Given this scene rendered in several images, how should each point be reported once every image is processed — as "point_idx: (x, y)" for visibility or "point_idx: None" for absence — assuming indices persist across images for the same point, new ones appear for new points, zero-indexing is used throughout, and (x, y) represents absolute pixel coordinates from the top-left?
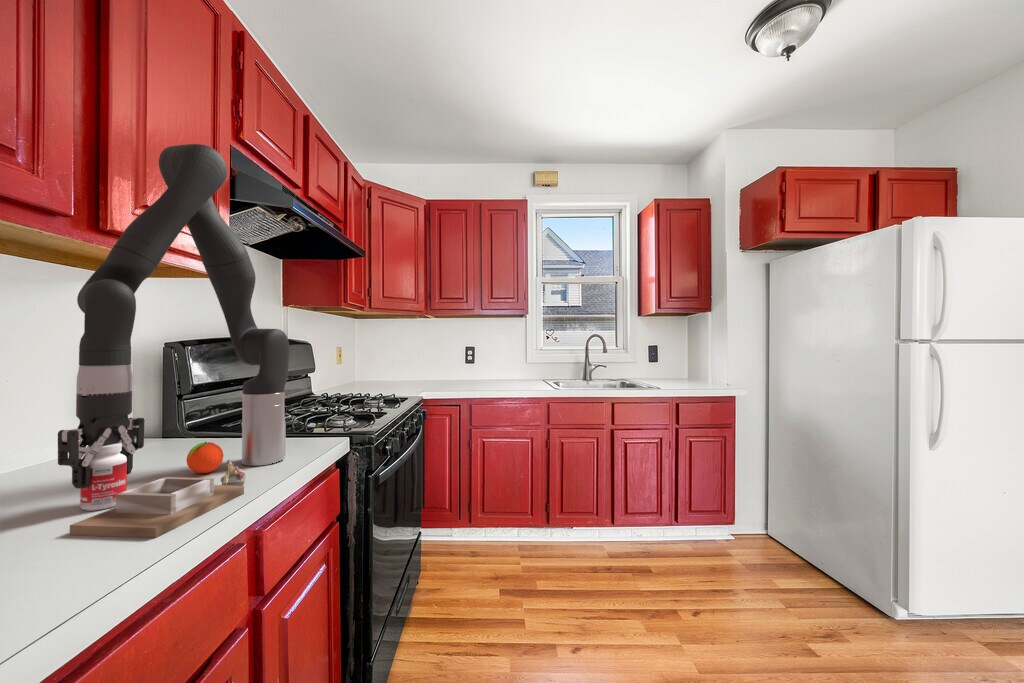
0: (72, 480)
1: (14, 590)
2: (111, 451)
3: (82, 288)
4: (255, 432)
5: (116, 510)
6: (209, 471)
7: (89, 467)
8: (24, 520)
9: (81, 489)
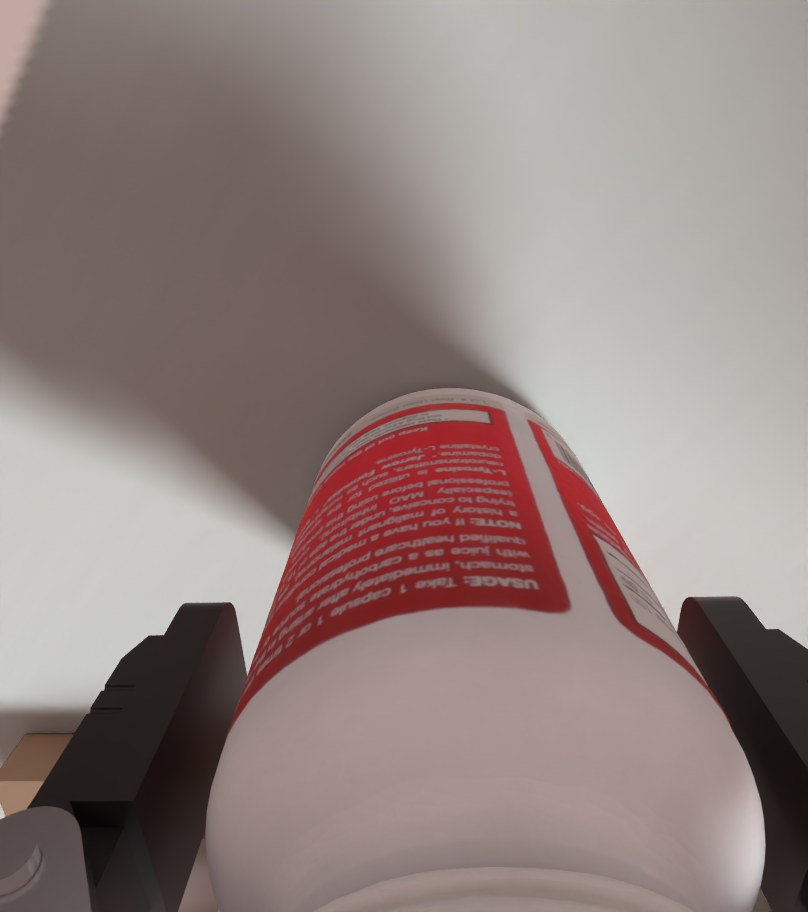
0: (107, 688)
1: None
2: None
3: None
4: None
5: (198, 854)
6: None
7: (169, 906)
8: (67, 227)
9: (292, 547)
